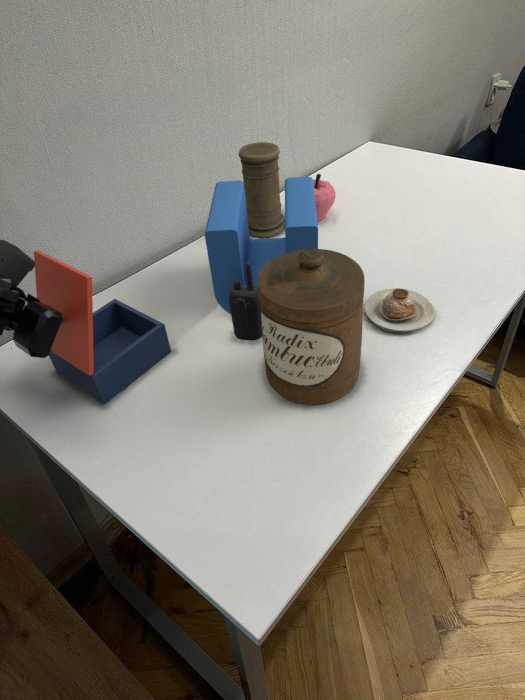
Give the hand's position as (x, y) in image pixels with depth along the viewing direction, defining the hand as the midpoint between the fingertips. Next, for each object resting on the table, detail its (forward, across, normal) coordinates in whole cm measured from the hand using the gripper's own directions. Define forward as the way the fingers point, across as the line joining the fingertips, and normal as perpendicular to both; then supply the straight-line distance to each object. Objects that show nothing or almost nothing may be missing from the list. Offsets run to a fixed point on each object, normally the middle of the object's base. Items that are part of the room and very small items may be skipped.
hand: (60, 321), depth 74 cm
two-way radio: (+26, -15, -7) cm, 31 cm away
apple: (+55, -2, -36) cm, 66 cm away
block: (+35, -9, -17) cm, 40 cm away
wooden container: (+25, -29, -7) cm, 39 cm away
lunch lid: (0, 0, -1) cm, 2 cm away
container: (+48, +6, -29) cm, 57 cm away
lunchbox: (+13, 0, +5) cm, 14 cm away
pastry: (+40, -33, -21) cm, 56 cm away
